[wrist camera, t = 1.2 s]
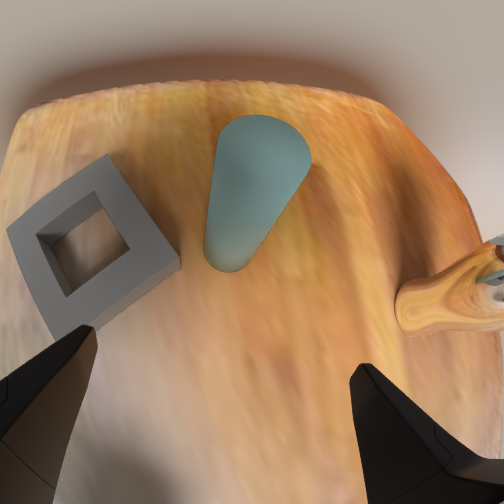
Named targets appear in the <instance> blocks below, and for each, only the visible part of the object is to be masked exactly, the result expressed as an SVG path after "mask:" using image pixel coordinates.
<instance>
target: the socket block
mask: <svg viewBox="0 0 504 504" xmlns="http://www.w3.org/2000/svg"><path fill="white" fill-rule="evenodd" d="M103 207H104V209H105V211H106V212H107V214H108V215H109V217H110V219H111V220H112V222H113V224H114V225H115V227H116V228H117V230H118V231H119V233H120V235H121V236H122V238H123V239H124V241H125V242H126V244H127V245H128V247H129V248H130V250H129V251H127V252H126V253H124V254H123V255H122V256H120V257H119V258H118V259H116V260H115V261H114V262H112V263H111V264H109V265H108V266H107V267H105V268H104V269H103V270H101V271H100V272H99V273H98V274H96V275H95V276H94V277H92V278H91V279H90V280H88V281H87V282H86V283H84V284H83V285H82V286H81V287H79V288H78V289H77V290H76V291H73V290H72V288H71V286H70V284H69V282H68V281H67V279H66V277H65V275H64V273H63V271H62V269H61V267H60V265H59V263H58V261H57V259H56V257H55V255H54V253H53V251H52V249H51V246H52V245H53V244H54V243H56V242H57V241H58V240H59V239H61V238H62V237H63V236H65V235H66V234H67V233H68V232H70V231H71V230H72V229H74V228H75V227H76V226H78V225H79V224H80V223H82V222H83V221H84V220H86V219H87V218H89V217H90V216H91V215H93V214H94V213H96V212H97V211H98V210H100V209H101V208H103ZM6 230H7V234H8V237H9V239H10V242H11V245H12V248H13V251H14V254H15V256H16V259H17V261H18V264H19V267H20V269H21V271H22V274H23V276H24V279H25V281H26V283H27V286H28V288H29V290H30V292H31V294H32V297H33V299H34V301H35V303H36V305H37V307H38V309H39V311H40V313H41V315H42V317H43V319H44V321H45V323H46V324H47V326H48V328H49V330H50V332H51V334H52V335H53V337H54V339H55V341H58V340H59V339H61V338H62V337H64V336H65V335H67V334H68V333H70V332H71V331H73V330H74V329H76V328H77V327H79V326H80V325H82V324H85V325H89V326H93V327H94V328H95V332H96V331H97V330H98V329H100V328H101V327H102V326H103V325H105V324H106V323H107V322H109V321H110V320H111V319H113V318H114V317H115V316H116V315H118V314H119V313H120V312H122V311H123V310H124V309H126V308H127V307H128V306H130V305H131V304H132V303H134V302H135V301H136V300H138V299H139V298H140V297H142V296H143V295H144V294H146V293H147V292H148V291H150V290H151V289H152V288H154V287H155V286H156V285H158V284H159V283H161V282H162V281H163V280H165V279H166V278H167V277H169V276H170V275H171V274H173V273H174V272H175V271H177V270H178V269H180V268H181V264H180V258H179V255H178V254H177V253H176V251H175V250H174V249H173V247H172V246H171V245H170V243H169V242H168V241H167V239H166V238H165V236H164V235H163V234H162V232H161V231H160V230H159V228H158V227H157V225H156V224H155V223H154V221H153V220H152V218H151V217H150V216H149V214H148V213H147V211H146V210H145V209H144V207H143V206H142V204H141V203H140V201H139V200H138V198H137V197H136V196H135V194H134V193H133V191H132V190H131V188H130V187H129V185H128V184H127V182H126V181H125V179H124V178H123V176H122V175H121V173H120V172H119V170H118V169H117V167H116V166H115V164H114V163H113V161H112V160H111V158H110V157H109V155H108V154H106V155H105V156H103V157H101V158H100V159H98V160H97V161H95V162H94V163H92V164H90V165H89V166H87V167H86V168H84V169H83V170H81V171H80V172H78V173H77V174H76V175H74V176H73V177H71V178H70V179H68V180H67V181H66V182H64V183H63V184H61V185H60V186H59V187H57V188H56V189H55V190H53V191H52V192H51V193H49V194H48V195H47V196H45V197H44V198H43V199H41V200H40V201H39V202H38V203H36V204H35V205H34V206H33V207H31V208H30V209H29V210H28V211H26V212H25V213H24V214H23V215H22V216H21V217H19V218H18V219H17V220H16V221H15V222H14V223H12V224H11V225H10V226H9V227H8V228H7V229H6Z"/></svg>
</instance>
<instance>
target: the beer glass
mask: <svg viewBox="0 0 504 504" xmlns="http://www.w3.org/2000/svg"><path fill="white" fill-rule="evenodd" d="M395 314H396V318H397V321H398V324H399V326H400V328H401V329H402V331H403V332H404V333H405V334H406V335H407V336H409V337H411V338H415V339H420V338H424V337H427V336H429V335H431V334H434V333H436V332H440V331H463V332H496V331H503V330H504V234H502V235H500V236H497V237H495V238H493V239H491V240H488V241H486V242H485V243H483V244H481V245H479V246H477V247H475V248H474V249H472V250H471V251H469V252H468V253H466V254H465V255H463V256H462V257H460V258H459V259H458V260H456V261H455V262H453V263H452V264H451V265H449V266H448V267H447V268H445V269H444V270H442V271H441V272H439V273H437V274H435V275H433V276H430V277H426V278H416V279H411V280H408V281H407V282H405V283H404V284H403V285H402V286H401V287H400V289H399V291H398V293H397V296H396V301H395Z"/></svg>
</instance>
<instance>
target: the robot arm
mask: <svg viewBox="0 0 504 504" xmlns="http://www.w3.org/2000/svg"><path fill="white" fill-rule="evenodd" d="M97 348H98V344H97V338H96V332H95V328H94V327H93V326H89V325H85V324H82V325H80V326H79V327H77V328H76V329H74V330H73V331H71V332H70V333H68V334H67V335H65V336H64V337H62V338H61V339H59V340H58V341H56V342H55V343H54V344H52V345H51V346H49V347H48V348H46V349H45V350H43V351H42V352H40V353H39V354H37V355H36V356H35V357H33V358H32V359H30V360H29V361H27V362H26V363H25V364H23V365H22V366H20V367H19V368H17V369H16V370H15V371H13V372H12V373H10V374H9V375H8V376H6V377H5V378H3V379H2V380H0V504H52V503H53V499H54V495H55V489H56V486H57V482H58V478H59V474H60V470H61V467H62V463H63V459H64V456H65V453H66V449H67V446H68V443H69V440H70V436H71V433H72V430H73V427H74V424H75V421H76V418H77V415H78V413H79V410H80V407H81V404H82V401H83V399H84V396H85V393H86V390H87V387H88V383H89V379H90V375H91V371H92V368H93V364H94V360H95V357H96V353H97ZM349 385H350V394H351V403H352V414H353V421H354V426H355V431H356V436H357V441H358V447H359V452H360V458H361V463H362V469H363V475H364V481H365V487H366V494H367V500H368V504H504V459H487V458H483V457H481V456H478V455H477V454H475V453H474V452H473V451H471V450H470V449H469V448H467V447H466V446H465V445H463V444H462V443H461V442H459V441H458V440H457V439H455V438H454V437H453V436H451V435H450V434H449V433H448V432H447V431H445V430H444V429H443V428H442V427H441V426H440V425H439V424H437V423H436V422H435V421H434V420H433V419H432V418H431V417H430V416H429V415H427V414H426V413H425V412H424V411H423V410H422V409H421V408H420V407H419V406H417V405H416V404H415V403H414V402H413V401H412V400H411V399H410V398H409V397H408V396H406V395H405V394H404V393H403V392H402V391H401V390H400V389H399V388H398V387H396V386H395V385H394V384H393V383H392V382H391V381H390V380H389V379H388V378H387V377H385V376H384V375H383V374H382V373H381V372H380V371H379V370H378V369H377V368H376V367H374V366H373V365H372V364H370V363H361V364H359V366H358V367H357V369H356V370H355V372H354V373H353V375H352V376H351V378H350V382H349Z"/></svg>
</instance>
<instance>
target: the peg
mask: <svg viewBox="0 0 504 504" xmlns="http://www.w3.org/2000/svg"><path fill="white" fill-rule="evenodd" d="M310 165H311V153H310V149H309V147H308V144H307V143H306V141H305V139H304V138H303V137H302V135H301V134H300V133H299V132H298V131H297V130H296V129H294V128H293V127H292V126H290V125H289V124H287V123H285V122H284V121H281V120H279V119H276V118H274V117H270V116H264V115H248V116H243V117H240V118H237V119H235V120H233V121H231V122H230V123H229V124H227V125H226V126H225V127H224V129H223V130H222V131H221V133H220V135H219V138H218V143H217V149H216V156H215V162H214V169H213V176H212V183H211V191H210V198H209V206H208V214H207V222H206V230H205V239H204V254H205V257H206V259H207V261H208V262H209V264H210V265H211V266H213V267H214V268H215V269H217V270H219V271H222V272H236V271H239V270H241V269H242V268H244V267H245V266H246V265H247V264H248V263H249V261H250V260H251V258H252V257H253V255H254V254H255V252H256V251H257V249H258V248H259V246H260V245H261V243H262V242H263V240H264V239H265V237H266V236H267V234H268V233H269V231H270V229H271V228H272V226H273V225H274V223H275V222H276V220H277V219H278V217H279V216H280V214H281V213H282V211H283V210H284V208H285V207H286V205H287V204H288V202H289V201H290V199H291V198H292V196H293V195H294V193H295V192H296V190H297V189H298V187H299V186H300V184H301V182H302V181H303V179H304V178H305V176H306V175H307V173H308V171H309V169H310Z"/></svg>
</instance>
